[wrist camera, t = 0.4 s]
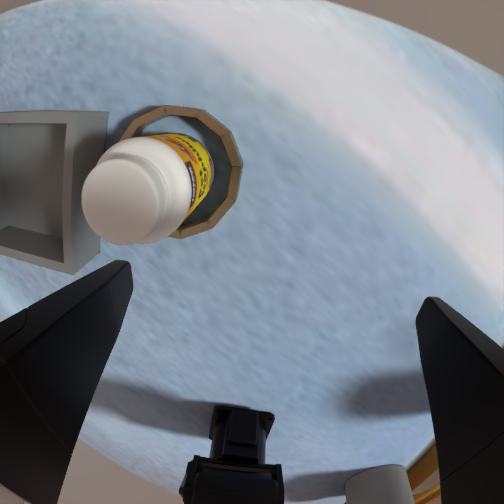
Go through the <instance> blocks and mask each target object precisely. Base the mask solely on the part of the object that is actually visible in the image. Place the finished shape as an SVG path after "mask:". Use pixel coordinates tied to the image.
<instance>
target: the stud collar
mask: <svg viewBox="0 0 504 504" xmlns="http://www.w3.org/2000/svg"><path fill="white" fill-rule="evenodd" d="M169 115H181V116H189V117H196V118H198V119H199V120H200V121H201V122H203V123H204V124H205V125H207V126H208V127H209V128H210V129H212V130H213V131H214V132H215V133H217V134H218V135H219V136H220V137H221V138H222V141H223V144H224V146H225V149H226V152H227V154H228V157H229V160H230V162H231V165H232V172H231V177H230V183H229V189H228V195H227V197H226V198H225V199H224V201H223V202H222V203H221V204H220V205H219V207H218V208H217V209H216V210H215V211H214V212H213V214H212V215H211V216H208V217H205V218H202V219H199V220H196V221H194V222H191V223H188V224H181V225H180V226H179V227H178V228H177V229H176V230H175V231H174V232H173V233H171V234H170V235H169V236H168V237H173V238H178V239H183V238H186V237H189V236H192V235H195V234H198V233H201V232H203V231H206V230H209V229H212V228H213V227H214V226H215V225H216V224H217V223H218V222H219V220H220V219H221V218H222V217H223V216H224V215H225V213H226V212H227V211H228V210H229V209H230V208H231V206H232V205H233V204H234V203H235V201H236V199H237V196H238V191H239V185H240V180H241V174H242V169H243V161H242V159H241V156H240V153H239V150H238V148H237V145H236V142H235V140H234V137H233V134H232V132H231V131H230V130H229V129H228V128H227V127H225V126H224V125H223V124H222V123H220V122H219V121H218V120H217V119H215V118H214V117H213V116H212V115H210V114H209V113H208V112H207V111H205V110H202V109H197V108H188V107H180V106H170V105H164V106H161V107H159V108H157V109H155V110H153V111H151V112H149V113H146V114H144V115H142V116H140V117H138V118H136V119H134V120H133V121H132V123H131V124H130V125H129V127H128V128H127V130H126V131H125V133H124V134H123V136H122V137H121V139H120V140H119V142H120V141H122V140H125V139H129V138H134V137H139V135H140V134H141V132H142V131H143V129H144V128H145V127H146V126H147V125H149V124H152V123H154V122H156V121H158V120H160V119H163V118H165V117H167V116H169Z"/></svg>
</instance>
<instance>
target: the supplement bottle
mask: <svg viewBox="0 0 504 504" xmlns="http://www.w3.org/2000/svg"><path fill="white" fill-rule="evenodd" d="M213 177H214V166H213V162H212V158H211V156H210V154H209V152H208V151H207V149H206V148H205V147H204V145H203V144H202V143H200V142H199V141H198V140H196V139H195V138H193V137H191V136H188V135H185V134H180V133H171V134H162V135H151V136H142V137H134V138H129V139H125V140H122V141H120V142H118V143H116V144H114V145H113V146H112V147H110V148H109V149H108V150H107V151H106V152H105V153H104V154H103V155H102V156H101V158H100V159H99V161H98V163H97V165H96V167H95V168H94V169H93V170H92V171H91V172H90V173H89V175H88V176H87V178H86V180H85V182H84V185H83V189H82V208H83V213H84V215H85V218H86V220H87V222H88V224H89V225H90V227H91V228H92V230H93V231H94V232H95V233H96V234H97V235H98V236H100V237H101V238H102V239H104V240H106V241H108V242H110V243H113V244H117V245H130V244H134V243H138V244H146V243H153V242H157V241H159V240H162V239H164V238H166V237H167V236H169V235H170V234H171V233H173V232H174V231H175V230H176V229H177V228H178V227H179V226H180V225H181V223H182V222H183V221H184V220H185V219H186V218H187V217H188V216H189V214H190V213H191V212H192V211H193V210H194V209H195V207H196V206H197V205H198V204H199V203H200V202H201V201H202V200H203V198H204V197H205V196H206V195H207V193H208V192H209V190H210V188H211V185H212V182H213Z"/></svg>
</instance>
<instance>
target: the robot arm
mask: <svg viewBox="0 0 504 504" xmlns="http://www.w3.org/2000/svg"><path fill="white" fill-rule="evenodd" d="M132 292H133V278H132V271H131V265H130V263H129V262H128V261H124V260H115V261H113V262H111V263H109V264H107V265H105V266H103V267H101V268H99V269H97V270H95V271H93V272H92V273H90V274H88V275H86V276H84V277H82V278H80V279H78V280H76V281H74V282H73V283H71V284H69V285H67V286H65V287H63V288H61V289H60V290H58V291H56V292H54V293H52V294H50V295H49V296H47V297H45V298H43V299H41V300H39V301H38V302H36V303H34V304H32V305H30V306H29V307H28V309H27V308H25V309H23V310H22V311H20V312H18V313H16V314H15V315H13V316H11V317H9V318H7V319H5V320H4V321H2V322H0V504H24V501H25V502H26V503H28V504H57V502H58V498H59V495H60V491H61V488H62V485H63V481H64V478H65V475H66V472H67V468H68V465H69V462H70V459H71V456H72V455H71V454H72V453H73V449H74V447H75V444H76V441H77V438H78V435H79V433H80V430H81V427H82V424H83V422H84V419H85V416H86V413H87V411H88V408H89V405H90V403H91V400H92V398H93V395H94V393H95V390H96V387H97V385H98V382H99V380H100V377H101V375H102V373H103V370H104V368H105V365H106V363H107V361H108V358H109V356H110V353H111V351H112V349H113V346H114V344H115V342H116V340H117V337H118V335H119V332H120V329H121V326H122V323H123V319H124V316H125V313H126V310H127V307H128V304H129V301H130V298H131V295H132ZM416 329H417V336H418V343H419V350H420V358H421V365H422V370H423V374H424V379H425V384H426V389H427V394H428V399H429V404H430V410H431V416H432V422H433V428H434V434H435V441H436V449H437V457H438V465H439V475H440V481H441V482H440V488H441V502H442V504H504V349H503V348H501V347H500V346H499V345H498V344H497V343H495V342H494V341H493V340H492V339H491V338H489V337H488V336H487V335H486V334H485V333H483V332H482V331H481V330H480V329H478V328H477V327H476V326H475V325H473V324H472V323H471V322H470V321H468V320H467V319H466V318H465V317H463V316H462V315H461V314H460V313H458V312H457V311H456V310H454V309H453V308H452V307H451V306H449V305H448V304H447V303H445V302H444V301H443V300H441V299H440V298H438V297H430V296H429V297H427V298H426V299H425V300H424V302H423V304H422V306H421V308H420V310H419V312H418V314H417V317H416ZM274 420H275V416H274V415H273V414H270V413H263V412H256V411H249V410H242V409H236V408H230V407H225V406H218V405H217V406H215V407H214V412H213V417H212V423H211V428H210V434H209V439H211V440H212V444H211V450H210V456H209V458H206V457H200V456H199V455H194V458H193V461H191V462H188V465H187V470H186V474H185V477H184V479H183V481H182V484H181V486H180V488H179V494H180V495H181V496H182V498H183V502H184V504H284V484H283V476H282V467H281V464H275V465H272V464H265V446H266V439H267V437H268V434H269V432H270V430H271V427H272V425H273V422H274Z"/></svg>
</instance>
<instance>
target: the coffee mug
mask: <svg viewBox="0 0 504 504" xmlns="http://www.w3.org/2000/svg"><path fill="white" fill-rule="evenodd" d="M345 493H346V501H347V502H345V503H344V504H415V503H414V499H413V495H412V491H411V487H410V484H409V480H408V477H407V473H406V469H405V467H403V466H401V465H395V464H391V465H383V466H378V467H374V468H371V469H368V470H365V471H363V472H361V473H358V474H357V475H355V476H353V477H352V478H350V479H349V480H348V481H347V482H346V484H345Z"/></svg>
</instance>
